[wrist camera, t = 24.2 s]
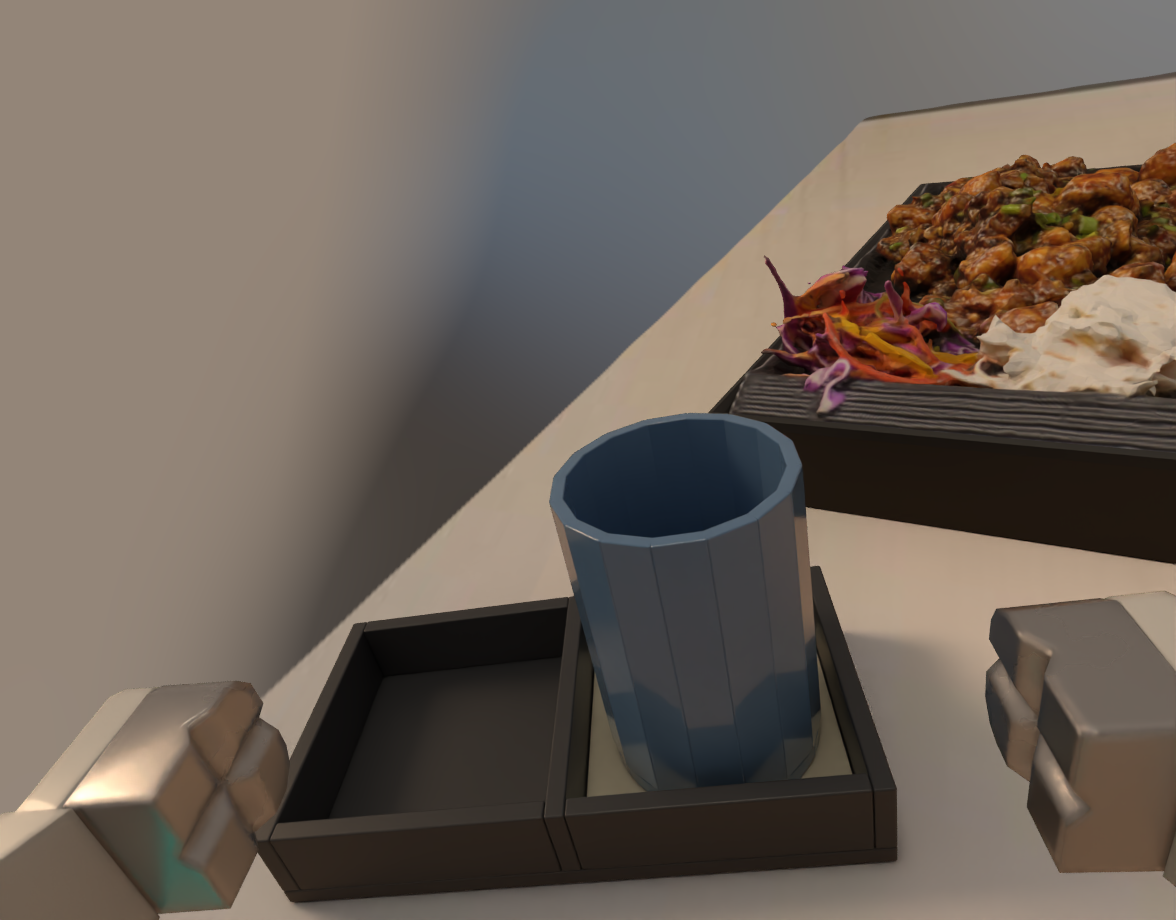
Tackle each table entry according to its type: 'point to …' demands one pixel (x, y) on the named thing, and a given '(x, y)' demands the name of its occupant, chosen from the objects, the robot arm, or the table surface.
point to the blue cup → (695, 597)
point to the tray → (542, 770)
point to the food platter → (994, 361)
